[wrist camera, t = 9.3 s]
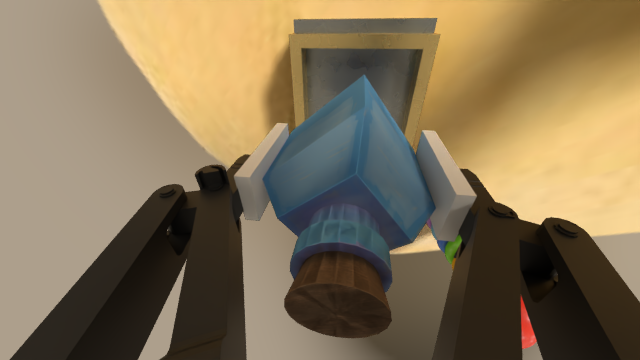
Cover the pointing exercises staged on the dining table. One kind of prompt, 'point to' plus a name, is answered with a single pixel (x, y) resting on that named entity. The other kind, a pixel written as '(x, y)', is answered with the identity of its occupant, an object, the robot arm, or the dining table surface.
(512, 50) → the dining table surface
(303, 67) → the gray gold-framed box
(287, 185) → the perfume bottle
